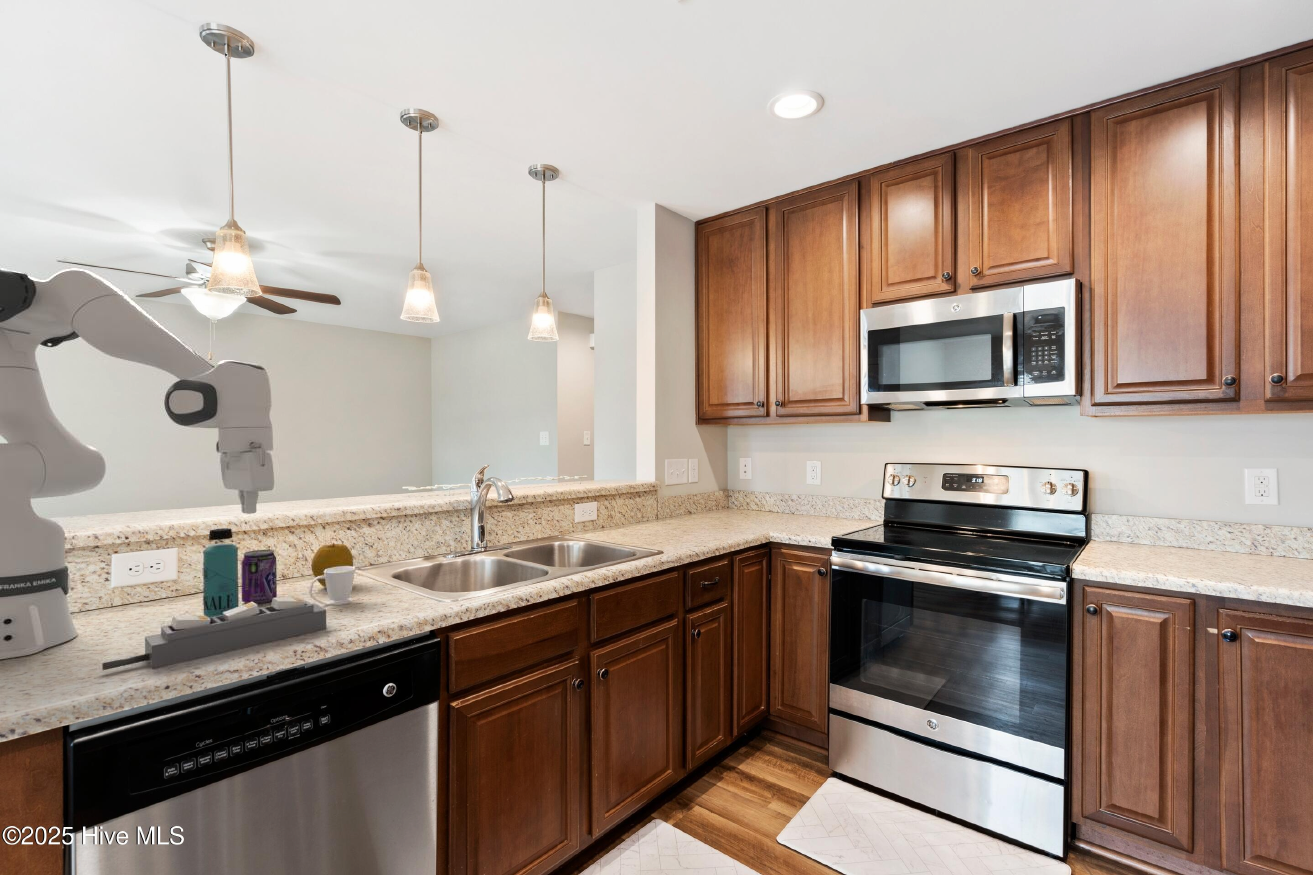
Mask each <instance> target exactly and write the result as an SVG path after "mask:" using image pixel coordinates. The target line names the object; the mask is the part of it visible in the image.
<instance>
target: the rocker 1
mask: <svg viewBox="0 0 1313 875" xmlns="http://www.w3.org/2000/svg"><path fill="white" fill-rule="evenodd" d="M210 620H211V619H209V618H208V617H207V616H204V615H172V618H171V624H170V625H171V626H172V627H173V628H174V629H189V628H194V627H199V626H204V625H209V624H210Z"/></svg>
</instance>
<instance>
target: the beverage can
mask: <svg viewBox="0 0 1313 875" xmlns="http://www.w3.org/2000/svg"><path fill="white" fill-rule="evenodd" d="M240 564H241V566H240V569H241V573H240V574H241V602H243V603H244V604H247V603H250V602H254V603H255V604H257V605H260V604H266V603H269V602H270V601H271V602H272V599H273V598H278V597H277V596H278V595H277V594H278V591H277V589H278V588H277V587H278V585H277V584H278V583H277V581H278V579H277V577H278V575H277V572H278V571H277V556H276V555H275V550H274V549H256V550H249V551H246V552H243V557H242V559H241V563H240Z"/></svg>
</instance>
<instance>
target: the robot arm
mask: <svg viewBox="0 0 1313 875" xmlns="http://www.w3.org/2000/svg"><path fill="white" fill-rule="evenodd" d="M78 338H81V339H82V340H83V341H85V343H87V344H89V345H90V346H92V347H93V348H95V349H96V350H98V351H100V352H102V353H103V354H104V355H107V356H110V357H113V358H117V359H120V360H124V361H128V362H129V361H130V362H133V363H138V364H142V365H146V366H149V367H153V368H156V369H159V370H161V371H164V372H166V373H169V374H170V375H173V376H174V377H176V378H177V379H178V380H177V381H176V382H174V383H172V384H171V385H170V386H169V388H167V391H166V393H165V395H164V401H163V402H164V410H165V412H166V414H167V417H169V419H170V420H171V421H172V422H173V423H175V424H177V425H178V426H183V427H187V428H193V429H194V428H199V429H217V432H218V440H217V441H216V444H215V450H216V453H217V454H220V455H219V463H220V471H221V480H222V483H223V487H224V488H225V489H227V490H235V491H238V493H237V495H238V499H239V502H240V504H241V506H240V507H241V513H243V514H247V515H251V514H256V513H257V503H258V499H259V492H267V491H272V490H273V489H274V488H275V475H274V474H275V472H274V462H273V457H272V454H271V452H270V451H274V439H273V438H274V437H273V436H274V435H273V433H274V432H273V423H272V422H271V416H270V413H271V409H272V391H271V384H270V379H269V375H268V372H267V370H266V368H264V367H263V366H262V365H260V364H258V363H257V364H256V363H252V362H247V361H246V362H245V361H239V360H233V359H226V360H221V361H219V362H218V363H217V364H216V366H215V365H213V364H212V363H211V362H209V360H207V359H206V358H205V357H203V356H202V355H200V354H199V353H198V352H197V351H196V350H194V349H193V348H191V347H190V346H188V345H187V344H185V342H183V341H181V340H180V339H179V338H178V337H176V336H175V335H174V334H172V333H171V332H170V331H169V330H167V328H165V327H163V326H162V325H161V324H159V323H158V322H157V321H156V320H155V319H154V318H153V317H152V316H150V315H149V314H148V313H146V312H145V311H144V310H143V309H142V308H141V307H140V306H139V305H137V304H136V303H135V302H134V301H133V300H132V299H131V298H129V297H128V295H126V294H125V293H123V292H122V291H121V290H120V289H118V288H117V287H116V286H114V285H112V284H111V283H110V282H108V281H107V280H106V279H103V278H102V277H100V276H99V275H97V274H95V273H93V272H92V271H91V272H90V271H88V270H85V269H81V268H80V269H78V268H71V269H70V268H69V269H64V270H61V271H59V272H57V273H55V274H54V275H52V276H51V277H50V278H48V279H46V280H43V279H41V278H40V279H39V278H36V277H31V276H29V275H28V274H27V273H26V272H25V273H24V272H20V271H15V270H14V271H13V270H11V269H6V268H1V267H0V436H1V437H2V438H3V439H4V440H5V441H6V442H7V443H6V442H4V443H2V442H1V443H0V660H4V659H5V660H6V659H10V658H11V659H12V658H17V657H24V656H30V655H34V654H36V653H38V652H41V651H43V650H45V649H47V648H51V647H54V646H57V645H60V644H63V643H66V642H68V641H70V640H72V639H74V638H75V637H77V636H78V631H77V629H76V627H75V624H74V621H73V618H72V614H71V611H70V604H69V600H68V594H69V592H70V591H69V590H70V571H69V567H68V565H66V533H65V530H64V528H63V527H62V526H61V524H59V523H57V522H56V521H54V520H51V519H48V518H46V517H41V516H39V515H38V514H37V513H36V512H35V510H34V509H33V506H32V501H31V499H33V500H34V499H42V498H43V499H45V498H55V497H56V498H57V497H66V496H71V495H76V494H79V493H82V492H87V491H90V490H93V489H96V488H97V487H98V486H99V485H100V484H101V482H103V479H104V478H105V474H106V468H107V467H106V461H105V459H104V457H103V455H102V453H101V452H100V451H99V450H98V449H97V448H95V447H93V446H91V445H90V444H87V443H85V442H84V441H82V440H80V439H78V437H76V436H75V435H73V434H72V433H71V432H70V431H69V430H68V429H67V428H66V427H65V426H64V425H63V424H62V423H61V421H60V420H59V419H58V418H57V416H56V415H55V413H54V411H53V410H52V408H51V406H50V403H49V400H48V396H47V394H46V391H45V387H44V384H43V381H42V380H43V379H42V377H41V372H40V369H39V365H38V362H37V359H36V358H37V356H36V350H37V348H38V347H39V345H40V346H43V347H47V348H54V347H57V346H59V345H61V344H63V343H64V342H70V341H73V340H76V339H78Z"/></svg>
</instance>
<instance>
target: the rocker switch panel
mask: <svg viewBox="0 0 1313 875" xmlns="http://www.w3.org/2000/svg"><path fill="white" fill-rule="evenodd" d="M303 600H304V601H306V602H305V606H301V607H296V608H290V609H275V608H273V607H272V606H271V605H269V606H268V605H267V606H262V607H258V608H259V612H260V613H258V614H255V615H252V616H250V617H245V618H240V619H235V620H230V621H225V619H224V615H220V616H214V617H209V619H211V620H210V624H209V625H204V626H199V627H194V628H189V629H174V628H173V627H172V626H171V624H168V625H163V626H160V633H156V634H152V635H146V636H144V653H143V654H140V655H135V656H129V657H125V658H120V659H116V660H111V661H106V662H102V664H101V668H102V671H107V670H112V669H116V668H121V667H124V666H130V665H133V664H140V663H143V662H147V663H148V665H149V667H151V669H152V670H154V669H157V668H161V667H165V666H170V665H176V664H178V663H183V662H188V661H193V660H197V659H201V658H205V657H210V656H214V655H218V654H219V655H220V654H223V653H227V652H230V651H235V650H240V649H241V650H242V649H244V648H249V647H252V646H253V647H254V646H257V645H262V644H265V643H271V642H275V641H279V640H284V639H288V638H292V637H296V636H300V635H301V636H302V635H307V634H310V633H315V632H318V631H319V632H320V631H323V630H327V609H325V608H324V607H322V606H320V605H318V604H316V603H311V602H309V601H308V600H305V599H303Z"/></svg>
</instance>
